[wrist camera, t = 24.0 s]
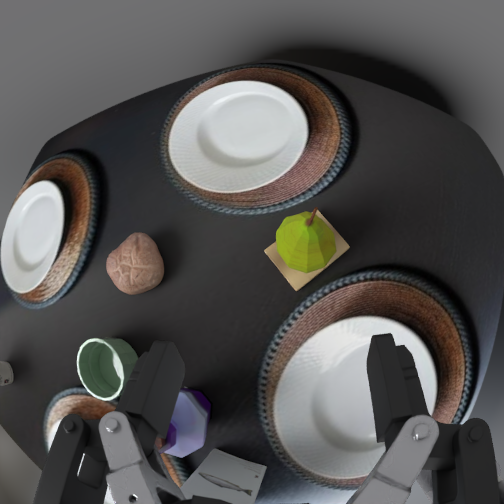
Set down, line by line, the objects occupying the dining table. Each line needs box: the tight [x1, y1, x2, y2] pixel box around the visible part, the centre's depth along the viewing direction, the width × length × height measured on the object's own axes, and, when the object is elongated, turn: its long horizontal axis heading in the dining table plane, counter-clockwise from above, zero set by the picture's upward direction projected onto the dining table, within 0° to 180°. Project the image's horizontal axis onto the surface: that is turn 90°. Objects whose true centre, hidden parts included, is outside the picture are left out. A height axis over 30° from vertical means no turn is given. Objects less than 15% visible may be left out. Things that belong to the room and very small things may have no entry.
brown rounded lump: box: [106, 232, 164, 295], centre depth 35 cm, size 8×6×8 cm
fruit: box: [276, 207, 337, 273], centre depth 27 cm, size 6×6×12 cm
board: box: [264, 210, 350, 292], centre depth 33 cm, size 6×8×1 cm
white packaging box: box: [180, 448, 267, 504], centre depth 23 cm, size 7×7×13 cm
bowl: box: [77, 337, 138, 401], centre depth 33 cm, size 8×8×4 cm
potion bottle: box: [155, 387, 213, 458], centre depth 26 cm, size 9×9×12 cm
